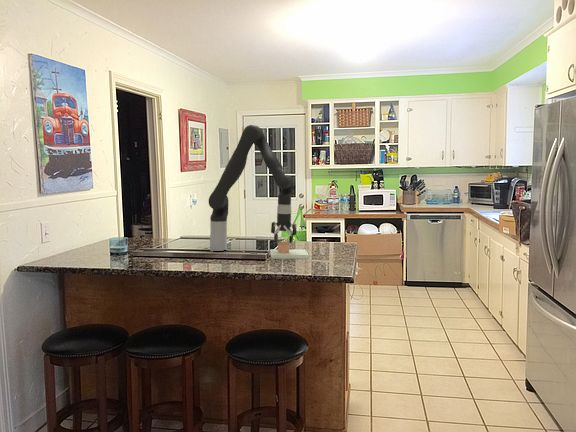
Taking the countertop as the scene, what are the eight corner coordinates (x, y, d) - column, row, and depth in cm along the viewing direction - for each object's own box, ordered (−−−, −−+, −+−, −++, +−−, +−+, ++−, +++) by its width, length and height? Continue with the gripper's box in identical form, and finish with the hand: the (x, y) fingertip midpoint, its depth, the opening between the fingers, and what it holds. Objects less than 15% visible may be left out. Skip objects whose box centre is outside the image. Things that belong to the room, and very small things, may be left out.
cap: (278, 253, 258) (278, 243, 258) (277, 250, 264) (277, 241, 264) (289, 253, 259) (289, 243, 258) (288, 250, 265) (288, 241, 264)
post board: (271, 258, 254) (271, 247, 253) (270, 252, 268) (270, 242, 267) (308, 258, 256) (309, 247, 255) (305, 253, 270) (305, 242, 269)
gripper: (269, 212, 258) (268, 241, 260) (293, 214, 252) (292, 244, 254) (275, 210, 265) (274, 239, 267) (299, 212, 259) (298, 242, 261)
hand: (283, 241), depth 261 cm, fingers open, 8 cm apart
